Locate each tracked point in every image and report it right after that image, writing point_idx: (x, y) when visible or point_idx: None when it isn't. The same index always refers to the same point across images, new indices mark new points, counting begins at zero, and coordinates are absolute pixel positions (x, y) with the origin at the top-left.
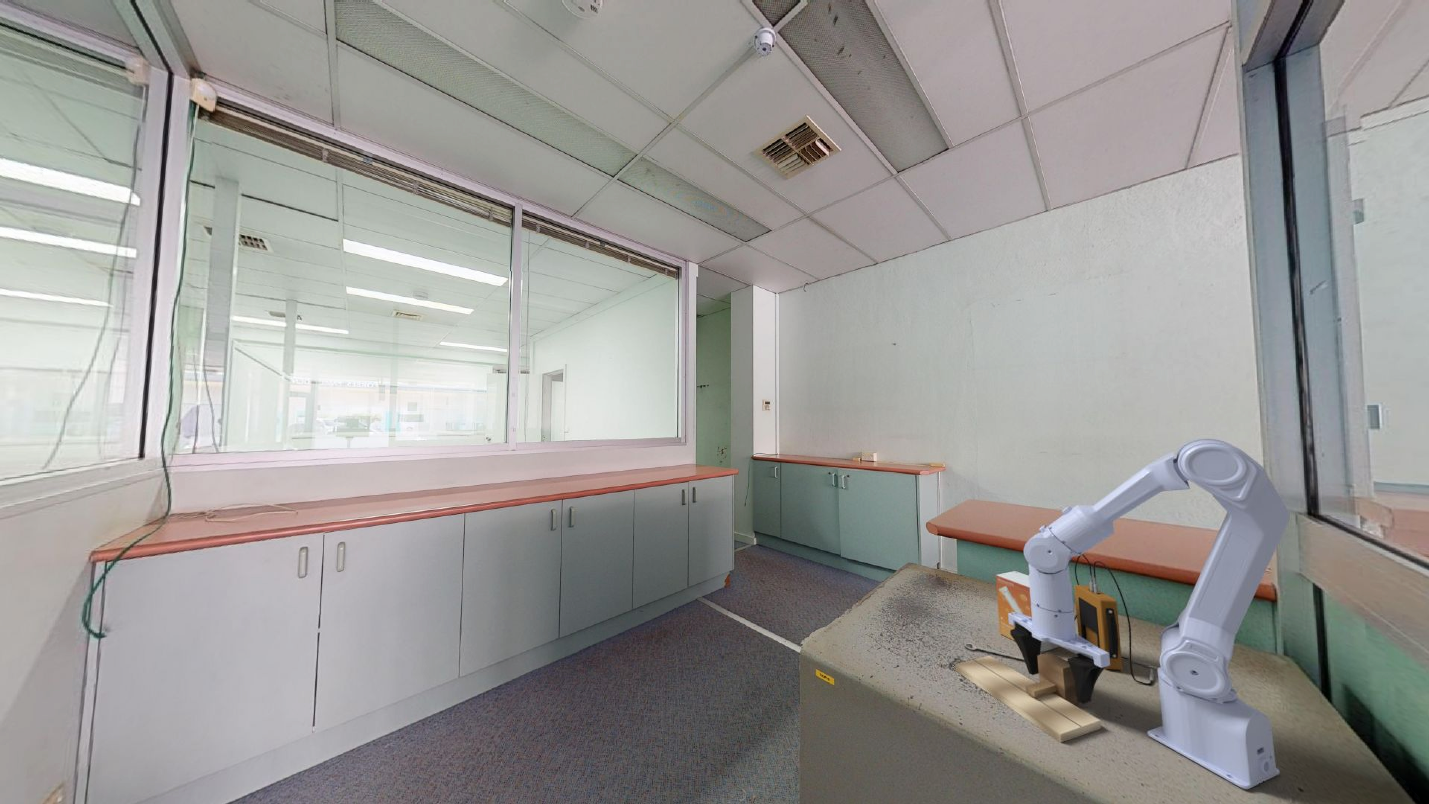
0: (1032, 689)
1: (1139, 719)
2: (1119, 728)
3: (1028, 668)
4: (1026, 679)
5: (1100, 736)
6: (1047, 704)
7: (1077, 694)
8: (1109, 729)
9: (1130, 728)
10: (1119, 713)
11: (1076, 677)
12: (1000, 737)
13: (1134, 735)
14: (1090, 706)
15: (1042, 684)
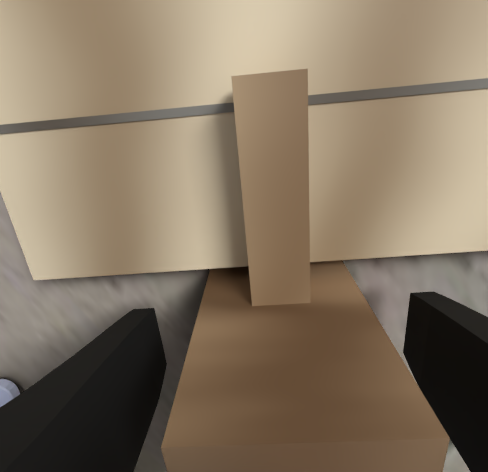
0: (255, 88)
1: None
2: (59, 330)
3: (449, 304)
4: (408, 236)
5: None
6: (178, 125)
7: (123, 327)
8: (55, 290)
9: (58, 364)
10: None
11: (13, 432)
12: None
13: (21, 342)
14: None
15: (284, 231)
